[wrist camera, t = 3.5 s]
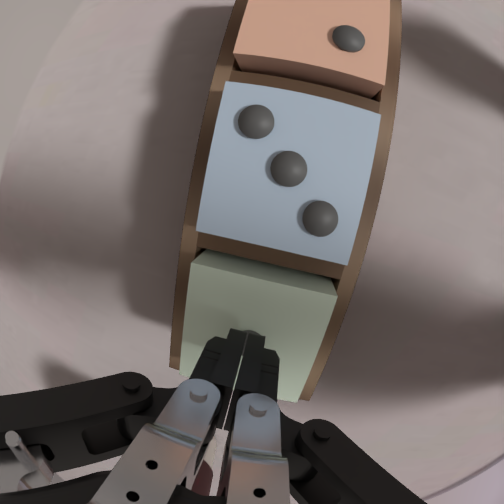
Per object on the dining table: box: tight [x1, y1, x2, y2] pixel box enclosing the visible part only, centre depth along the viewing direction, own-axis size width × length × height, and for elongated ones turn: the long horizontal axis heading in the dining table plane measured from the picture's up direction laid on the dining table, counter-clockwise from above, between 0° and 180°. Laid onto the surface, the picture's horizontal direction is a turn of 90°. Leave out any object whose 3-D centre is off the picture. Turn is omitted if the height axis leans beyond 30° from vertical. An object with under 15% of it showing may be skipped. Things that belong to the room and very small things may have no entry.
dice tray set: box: [169, 0, 402, 401], centre depth 14 cm, size 24×9×5 cm, turn 168°
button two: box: [233, 0, 390, 99], centre depth 10 cm, size 6×6×3 cm
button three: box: [196, 81, 381, 265], centre depth 12 cm, size 6×6×3 cm
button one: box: [179, 249, 338, 403], centre depth 14 cm, size 6×6×3 cm
